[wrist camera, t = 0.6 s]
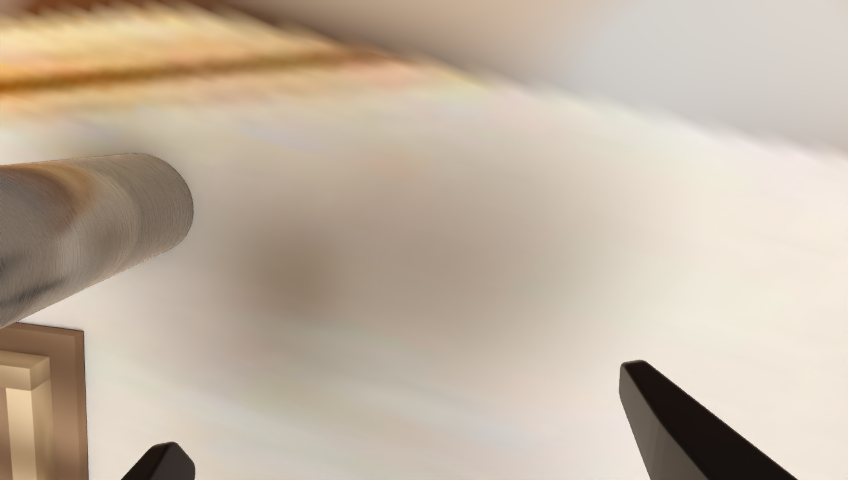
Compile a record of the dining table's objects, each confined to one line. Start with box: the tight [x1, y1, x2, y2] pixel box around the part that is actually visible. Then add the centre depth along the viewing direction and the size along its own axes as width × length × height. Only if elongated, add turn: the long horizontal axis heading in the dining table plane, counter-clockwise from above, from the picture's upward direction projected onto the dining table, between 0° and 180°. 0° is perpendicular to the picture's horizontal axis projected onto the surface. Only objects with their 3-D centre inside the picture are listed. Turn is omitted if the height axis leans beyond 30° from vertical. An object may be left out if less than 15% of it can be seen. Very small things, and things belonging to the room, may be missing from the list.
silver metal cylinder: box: [0, 153, 193, 329], centre depth 16 cm, size 5×5×13 cm
